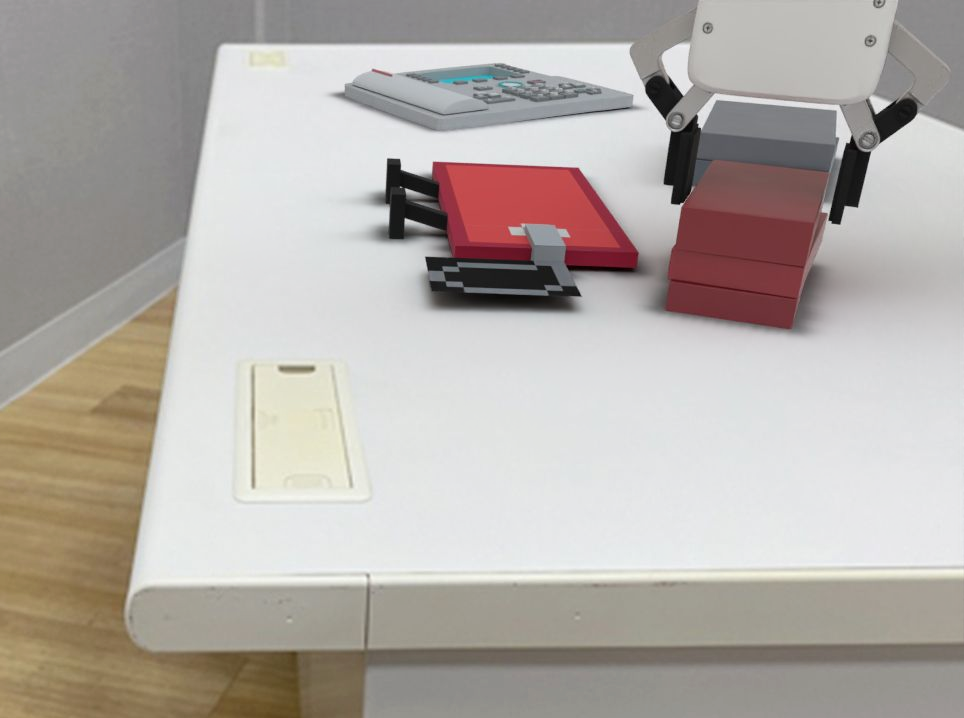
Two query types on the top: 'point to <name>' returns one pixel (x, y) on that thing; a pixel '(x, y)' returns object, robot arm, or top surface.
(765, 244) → the burgundy book
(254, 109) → the top surface
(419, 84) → the office telephone
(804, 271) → the burgundy books
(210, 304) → the top surface
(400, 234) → the red board with handle
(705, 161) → the grey books
